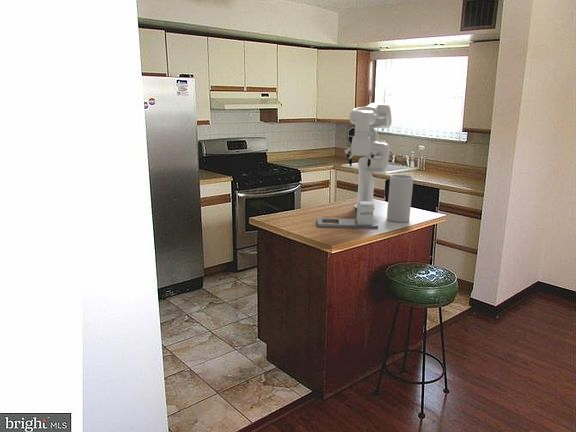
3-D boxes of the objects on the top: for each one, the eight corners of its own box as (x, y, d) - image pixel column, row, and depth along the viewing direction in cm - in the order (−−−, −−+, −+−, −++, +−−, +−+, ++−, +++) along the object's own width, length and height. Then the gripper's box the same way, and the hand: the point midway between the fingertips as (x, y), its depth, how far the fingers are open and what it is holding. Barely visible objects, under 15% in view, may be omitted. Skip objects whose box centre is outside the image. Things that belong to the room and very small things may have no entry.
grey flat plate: (317, 220, 255) (317, 217, 254) (375, 222, 254) (375, 219, 253) (317, 226, 243) (317, 223, 243) (378, 229, 242) (378, 226, 242)
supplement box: (358, 227, 244) (360, 204, 241) (356, 223, 251) (357, 200, 248) (372, 227, 245) (374, 204, 241) (369, 223, 252) (371, 200, 248)
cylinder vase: (392, 215, 269) (396, 173, 263) (412, 219, 262) (417, 176, 255) (382, 219, 260) (386, 176, 253) (403, 224, 252) (407, 179, 246)
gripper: (376, 134, 250) (374, 165, 255) (345, 133, 251) (343, 164, 256) (378, 135, 243) (376, 167, 248) (346, 134, 244) (344, 166, 248)
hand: (359, 166), depth 252 cm, fingers open, 9 cm apart
